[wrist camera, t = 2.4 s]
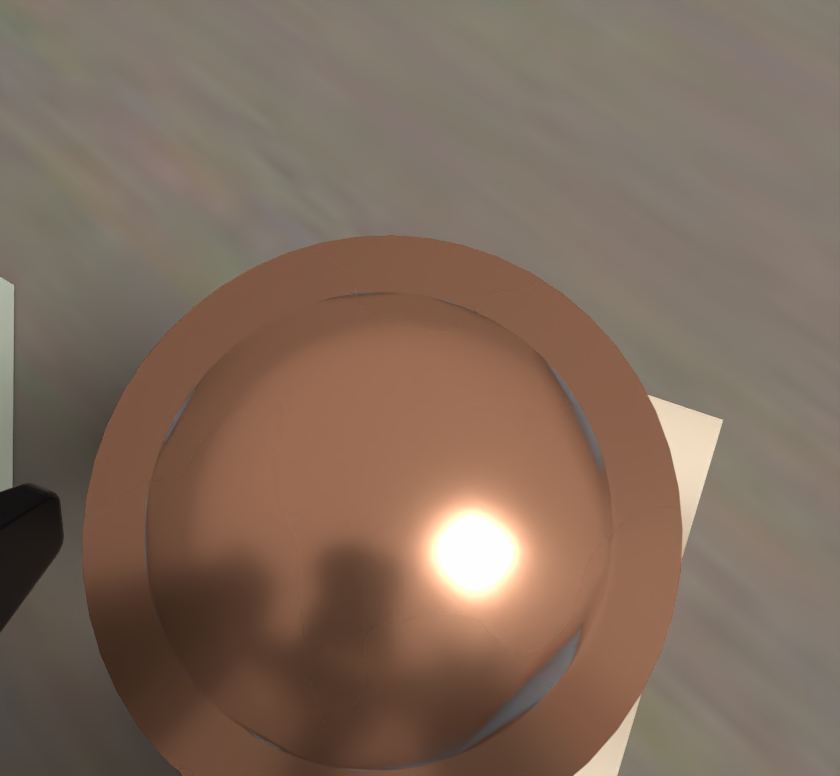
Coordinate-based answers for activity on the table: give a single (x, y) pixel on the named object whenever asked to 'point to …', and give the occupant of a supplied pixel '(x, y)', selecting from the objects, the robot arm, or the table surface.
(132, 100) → the table surface
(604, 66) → the table surface
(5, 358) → the dock socket
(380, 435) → the lock pin
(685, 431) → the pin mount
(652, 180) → the table surface
